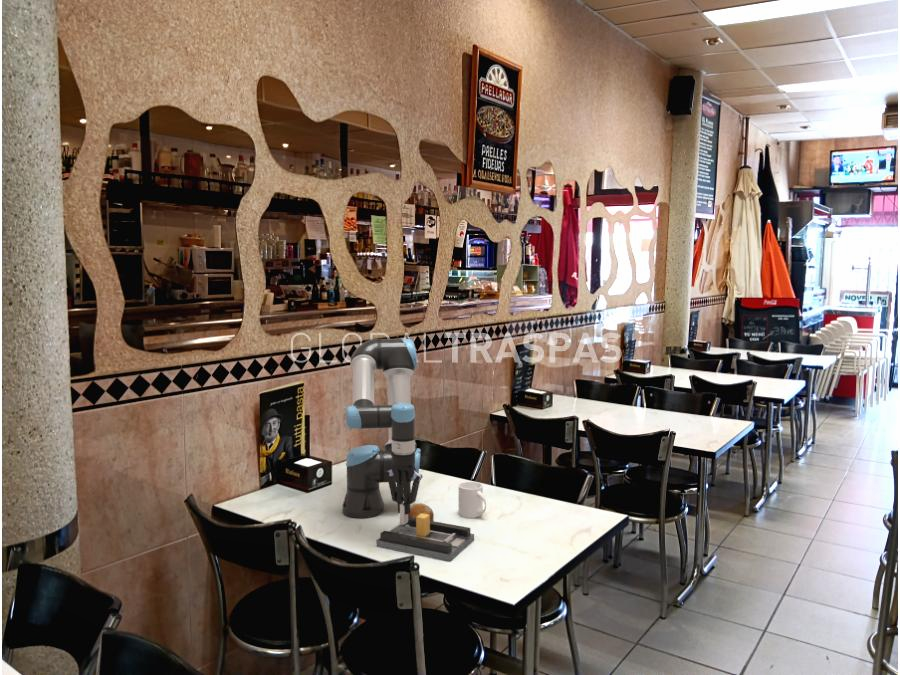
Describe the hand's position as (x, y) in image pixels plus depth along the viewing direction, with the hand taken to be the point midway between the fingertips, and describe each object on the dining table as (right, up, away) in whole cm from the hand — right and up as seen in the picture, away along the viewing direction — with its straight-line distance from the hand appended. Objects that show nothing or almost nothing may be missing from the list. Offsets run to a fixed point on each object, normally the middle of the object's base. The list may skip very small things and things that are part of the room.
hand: (404, 523), depth 227 cm
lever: (+6, -4, -2) cm, 8 cm away
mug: (+23, -3, +22) cm, 32 cm away
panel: (+7, -6, -3) cm, 10 cm away
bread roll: (+4, -4, +16) cm, 17 cm away
